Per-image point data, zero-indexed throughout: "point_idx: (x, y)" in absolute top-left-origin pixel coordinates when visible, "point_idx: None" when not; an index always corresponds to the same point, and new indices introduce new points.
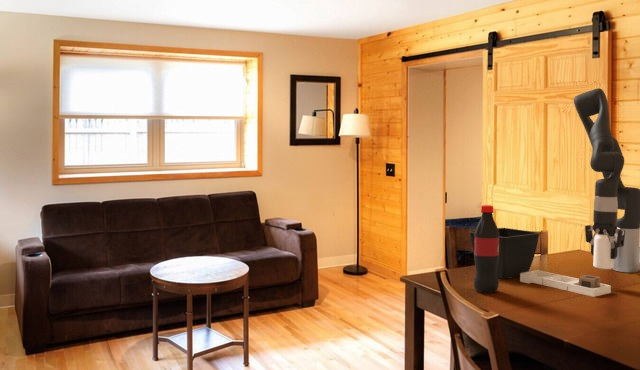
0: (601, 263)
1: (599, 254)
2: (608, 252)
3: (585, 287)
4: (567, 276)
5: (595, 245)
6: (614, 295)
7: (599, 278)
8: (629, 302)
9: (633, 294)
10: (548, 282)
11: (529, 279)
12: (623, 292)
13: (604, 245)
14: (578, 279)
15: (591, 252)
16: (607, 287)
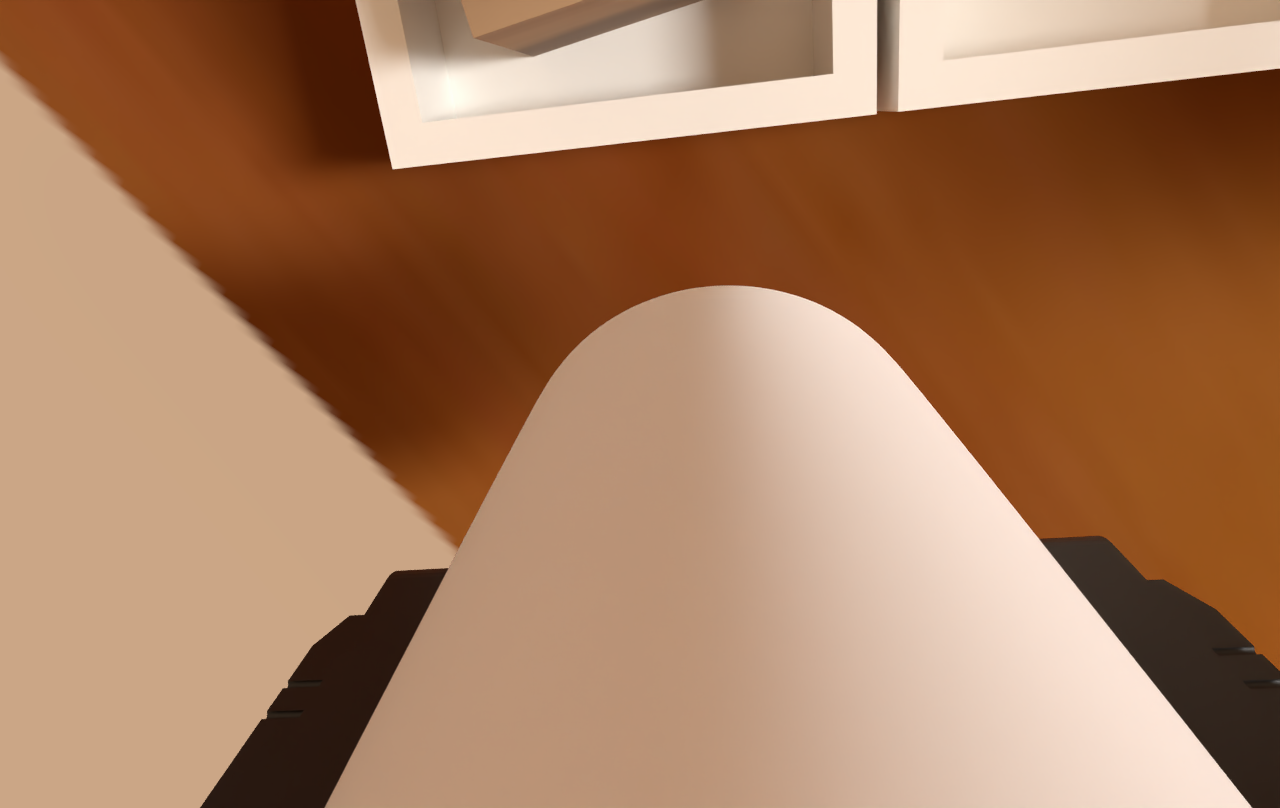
0: (618, 335)
1: (669, 410)
2: (416, 632)
3: None
4: (1266, 60)
5: (1003, 640)
6: (405, 187)
7: (466, 4)
8: (52, 39)
9: (361, 435)
10: None
11: None
12: (476, 418)
13: (398, 774)
14: (989, 55)
15: (1176, 604)
16: (375, 65)
